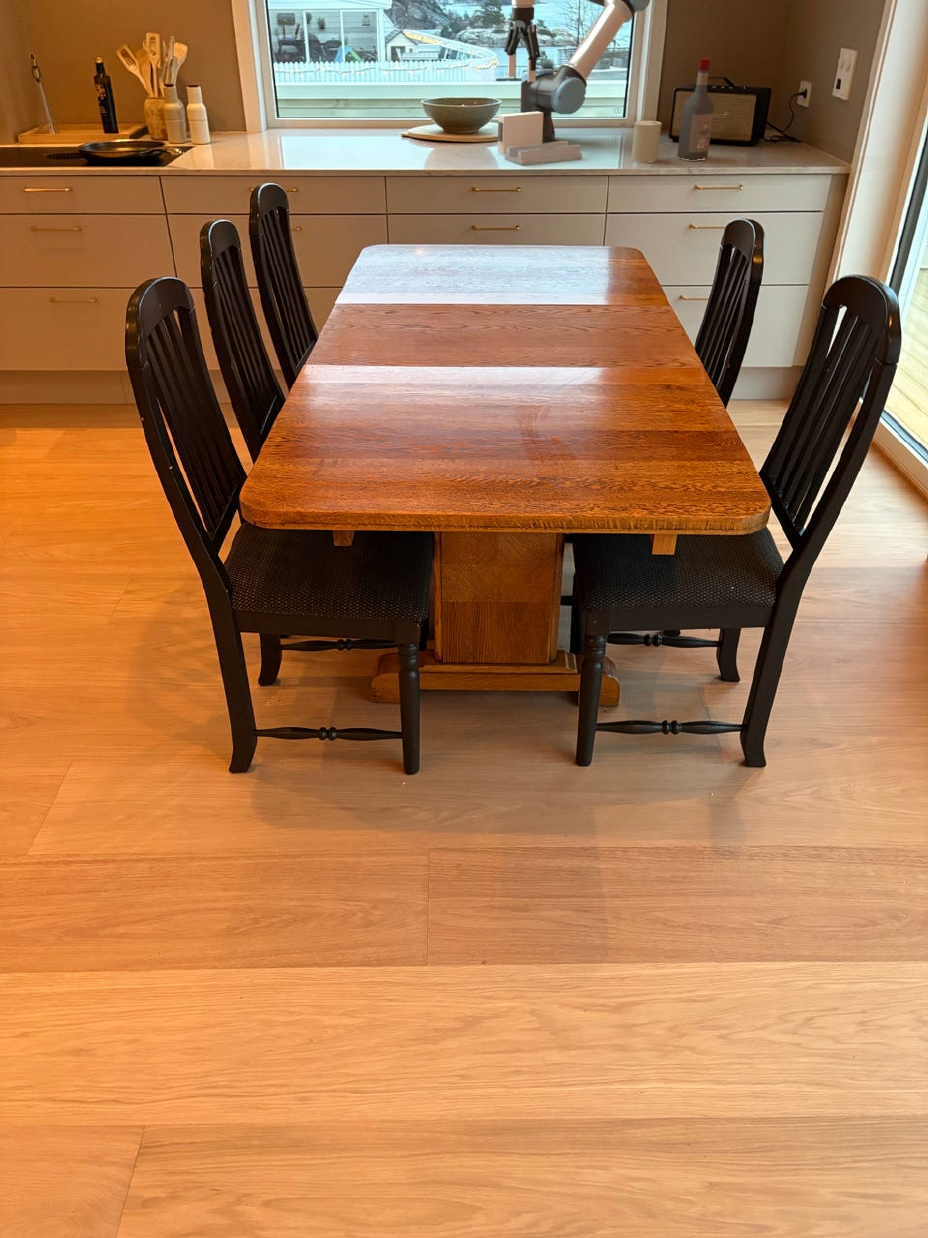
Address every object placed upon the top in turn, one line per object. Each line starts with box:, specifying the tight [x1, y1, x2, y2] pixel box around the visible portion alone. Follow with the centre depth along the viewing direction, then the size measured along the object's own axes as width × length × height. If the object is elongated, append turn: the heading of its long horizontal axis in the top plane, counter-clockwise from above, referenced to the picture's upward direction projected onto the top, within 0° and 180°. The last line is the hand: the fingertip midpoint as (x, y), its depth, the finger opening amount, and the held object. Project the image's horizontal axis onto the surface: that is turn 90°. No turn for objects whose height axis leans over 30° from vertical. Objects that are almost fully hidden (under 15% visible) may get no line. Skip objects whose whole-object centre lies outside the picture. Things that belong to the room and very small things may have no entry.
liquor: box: [677, 57, 715, 160], centre depth 319 cm, size 9×9×30 cm
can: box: [630, 120, 662, 163], centre depth 322 cm, size 9×9×12 cm
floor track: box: [504, 140, 583, 166], centre depth 326 cm, size 24×12×4 cm, turn 118°
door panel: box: [497, 111, 543, 155], centre depth 335 cm, size 17×4×12 cm, turn 118°
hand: (521, 79), depth 325 cm, fingers open, 13 cm apart
